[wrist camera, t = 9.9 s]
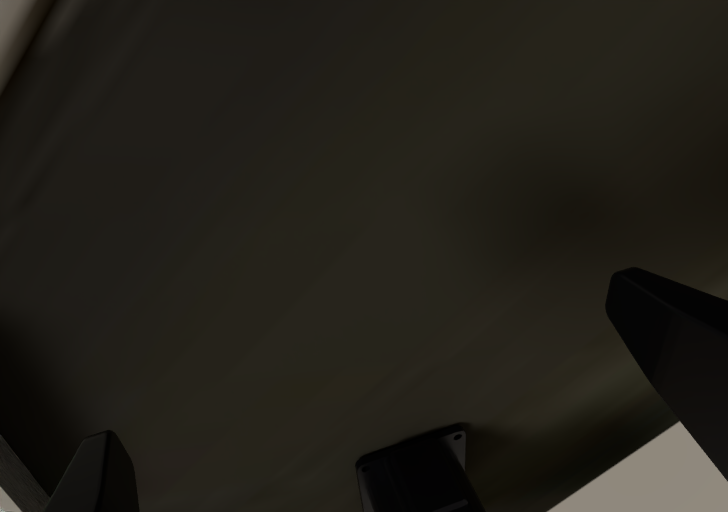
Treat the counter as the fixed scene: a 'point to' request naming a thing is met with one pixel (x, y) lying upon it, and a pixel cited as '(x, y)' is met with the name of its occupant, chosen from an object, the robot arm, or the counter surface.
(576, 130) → the counter surface
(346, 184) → the counter surface
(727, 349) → the robot arm
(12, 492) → the grey rectangular tray
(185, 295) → the counter surface
